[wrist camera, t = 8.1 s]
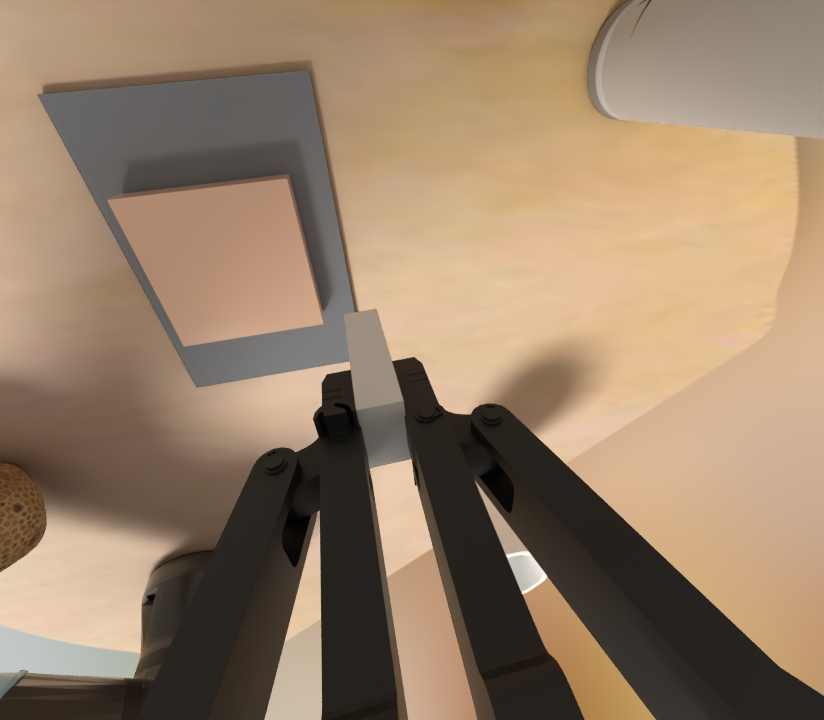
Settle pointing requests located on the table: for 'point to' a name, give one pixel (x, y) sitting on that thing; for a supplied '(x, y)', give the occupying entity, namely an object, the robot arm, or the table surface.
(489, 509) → the foam cup
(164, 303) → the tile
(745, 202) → the table surface
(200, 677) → the robot arm
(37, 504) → the natural sponge
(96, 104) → the felt mat
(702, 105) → the travel mug
